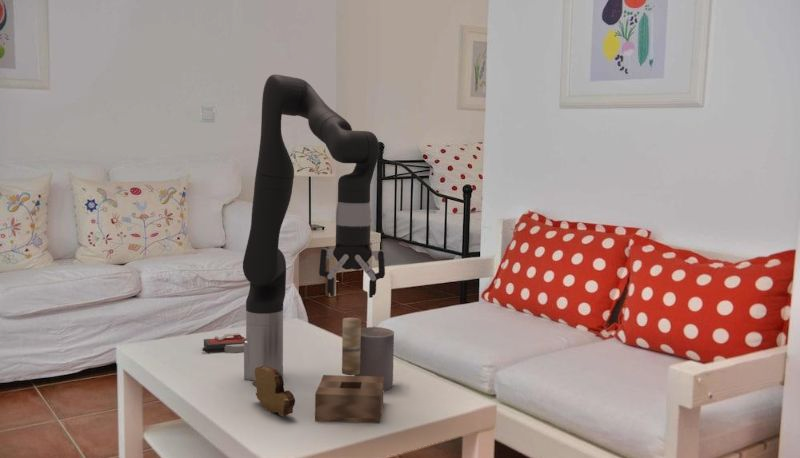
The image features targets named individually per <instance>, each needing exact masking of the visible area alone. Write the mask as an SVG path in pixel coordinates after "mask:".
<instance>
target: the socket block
mask: <svg viewBox="0 0 800 458" xmlns="http://www.w3.org/2000/svg"><path fill="white" fill-rule="evenodd" d="M384 392H385V391H384V377H375V376H354V375H339V374H338V375H337V374H336V375H333V374H330V375H329V374H323V376H322V377H321V380H320V382H319V384H318V387H317V389H316V391H315V397H314V409H315V410H314V421H315V422H332V423H333V422H335V423H336V422H337V423H366V424H367V423H368V424H381V419H382V414H383V407H384Z"/></svg>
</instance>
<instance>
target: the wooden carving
mask: <svg viewBox="0 0 800 458" xmlns="http://www.w3.org/2000/svg"><path fill="white" fill-rule="evenodd" d="M255 377H256V381H253V380H252V381H251V384H252V386H253V388H254V387H255V388H256V392H255V396H256V398H257V399H258V401H259V403H260V404H261V405H262V407H263V408H264V409H265V410H266V411H268V412H270V413H272V414H274V413H278V415H280V416H281V417H286V416H289V415H291V414H293V412H294V410H293V409H294V406H295V405H296V404H295V403H296V398H295V396H294V394H293V393H292V392H291V390H288V389H287V390H285V387H284V385H285V383H284V377H282V375H281V373H279V372H278V371H277V370H276V369H274V368H273V367H270V366H266V367H265V366H262V367H257V368H255Z"/></svg>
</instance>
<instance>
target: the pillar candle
mask: <svg viewBox="0 0 800 458" xmlns="http://www.w3.org/2000/svg"><path fill="white" fill-rule="evenodd" d="M394 339H395V331H394V330H392V329H389V328H387V327H381V326H379V327H378V326H370V327H369V326H368V327H361V344H360V374H357V375H353V376H375V377H384V392H385V390H386V391H388V390H389V389H391V388H392V387H394V386H393V384H394V383H393V382H394V351H395V349H394V347H395V345H394V344H395V340H394Z"/></svg>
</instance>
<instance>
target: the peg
mask: <svg viewBox="0 0 800 458" xmlns="http://www.w3.org/2000/svg"><path fill="white" fill-rule="evenodd" d="M361 328H362V319H361V318H359V317H344V318H342V337H341V338H342V343H341V345H342V347H341V350H342V351H341V353H342V355H341V373H342V374H343V375H344V376H354V375H357V374H360V344H361Z"/></svg>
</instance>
